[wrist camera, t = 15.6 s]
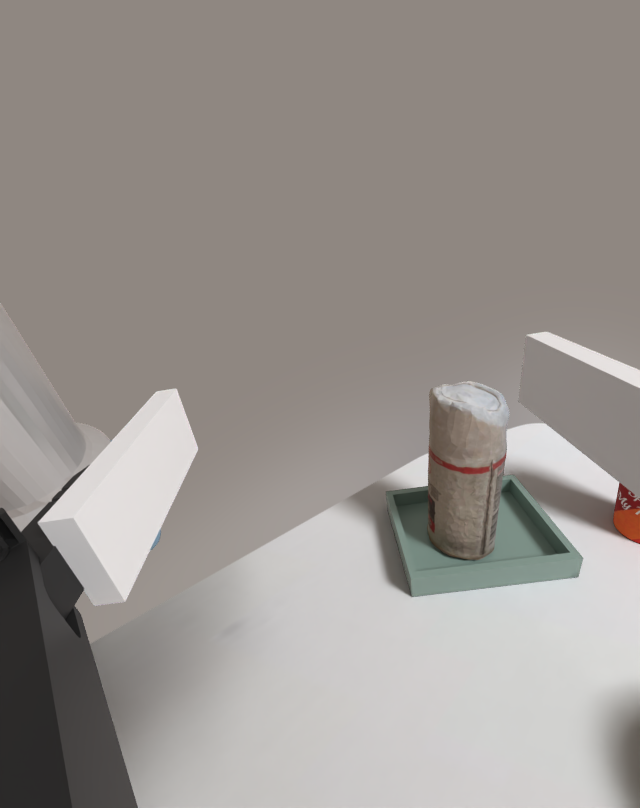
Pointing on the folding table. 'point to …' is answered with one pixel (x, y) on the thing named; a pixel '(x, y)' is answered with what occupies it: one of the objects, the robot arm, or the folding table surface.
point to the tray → (507, 565)
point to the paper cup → (627, 514)
